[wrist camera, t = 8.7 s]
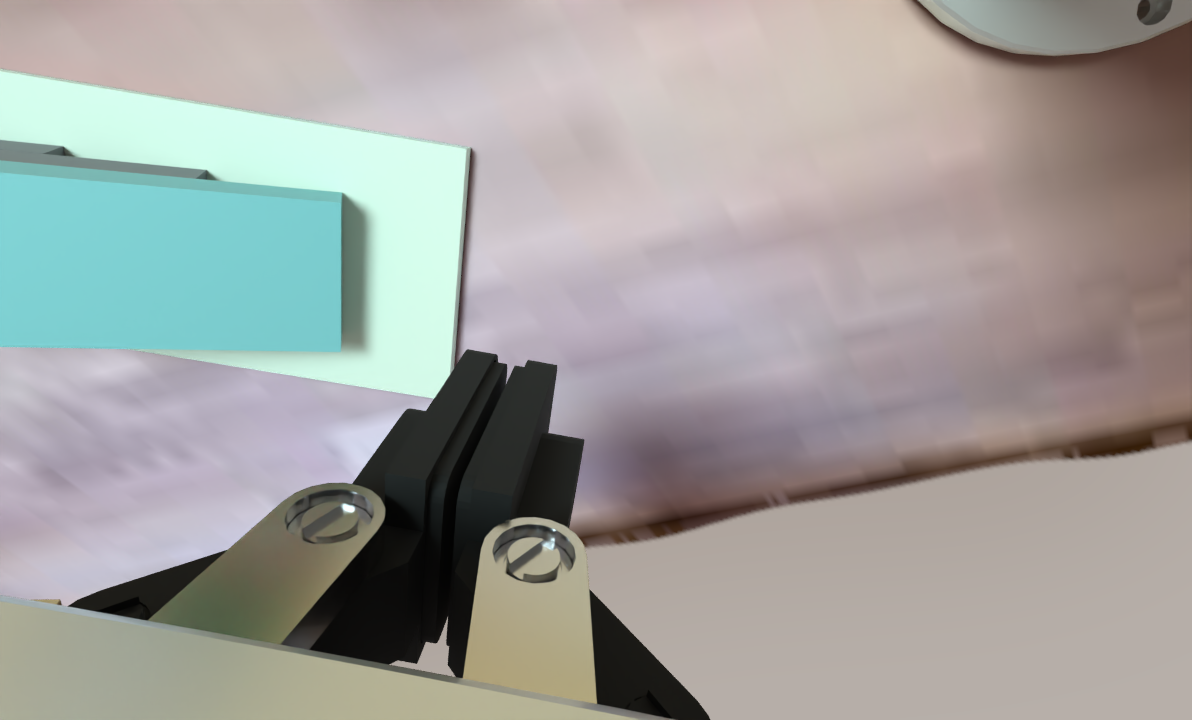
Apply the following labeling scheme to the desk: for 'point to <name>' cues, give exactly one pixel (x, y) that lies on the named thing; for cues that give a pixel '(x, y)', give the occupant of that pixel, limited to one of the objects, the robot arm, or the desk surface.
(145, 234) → the tile
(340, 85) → the desk surface
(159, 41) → the desk surface
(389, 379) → the mat
